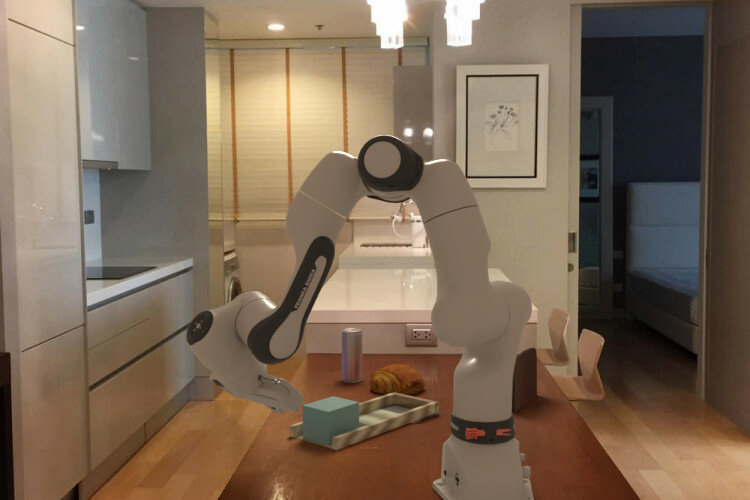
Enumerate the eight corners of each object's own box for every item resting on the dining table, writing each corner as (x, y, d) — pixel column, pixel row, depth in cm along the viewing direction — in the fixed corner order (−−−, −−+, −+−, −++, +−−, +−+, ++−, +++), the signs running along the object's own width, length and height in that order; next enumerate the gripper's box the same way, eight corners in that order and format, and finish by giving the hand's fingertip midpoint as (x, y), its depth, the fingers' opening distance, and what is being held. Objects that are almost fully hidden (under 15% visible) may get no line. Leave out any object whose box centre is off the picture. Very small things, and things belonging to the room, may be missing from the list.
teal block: (328, 445, 179) (328, 411, 179) (302, 438, 184) (302, 405, 184) (359, 434, 187) (359, 402, 186) (333, 427, 192) (333, 396, 191)
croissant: (362, 396, 230) (358, 369, 229) (404, 380, 239) (401, 354, 238) (394, 406, 219) (390, 377, 218) (437, 389, 228) (434, 361, 227)
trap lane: (336, 452, 177) (336, 438, 176) (289, 438, 186) (289, 425, 185) (438, 414, 205) (438, 401, 205) (393, 403, 214) (393, 392, 214)
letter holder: (537, 395, 223) (538, 344, 222) (514, 414, 206) (515, 358, 204) (502, 391, 228) (502, 340, 227) (477, 409, 210) (477, 354, 209)
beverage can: (338, 381, 237) (337, 330, 236) (348, 377, 243) (348, 327, 241) (356, 384, 235) (355, 332, 233) (366, 379, 240) (365, 328, 239)
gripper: (288, 367, 160) (323, 406, 168) (220, 353, 173) (255, 389, 181) (271, 395, 157) (308, 433, 165) (203, 378, 170) (240, 414, 178)
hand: (280, 410), depth 173 cm, fingers closed
